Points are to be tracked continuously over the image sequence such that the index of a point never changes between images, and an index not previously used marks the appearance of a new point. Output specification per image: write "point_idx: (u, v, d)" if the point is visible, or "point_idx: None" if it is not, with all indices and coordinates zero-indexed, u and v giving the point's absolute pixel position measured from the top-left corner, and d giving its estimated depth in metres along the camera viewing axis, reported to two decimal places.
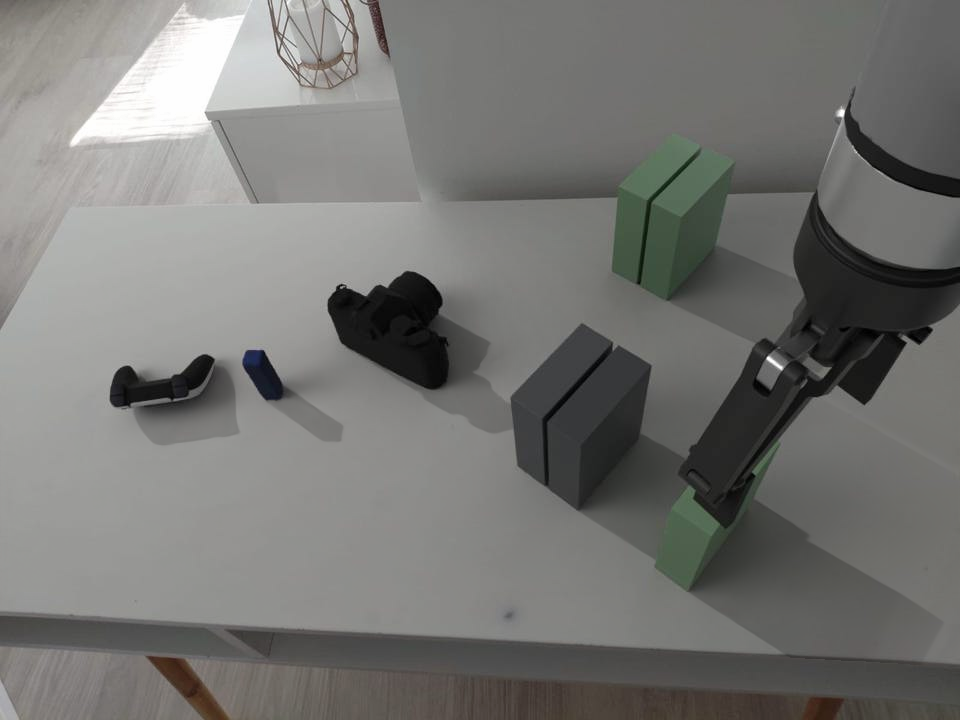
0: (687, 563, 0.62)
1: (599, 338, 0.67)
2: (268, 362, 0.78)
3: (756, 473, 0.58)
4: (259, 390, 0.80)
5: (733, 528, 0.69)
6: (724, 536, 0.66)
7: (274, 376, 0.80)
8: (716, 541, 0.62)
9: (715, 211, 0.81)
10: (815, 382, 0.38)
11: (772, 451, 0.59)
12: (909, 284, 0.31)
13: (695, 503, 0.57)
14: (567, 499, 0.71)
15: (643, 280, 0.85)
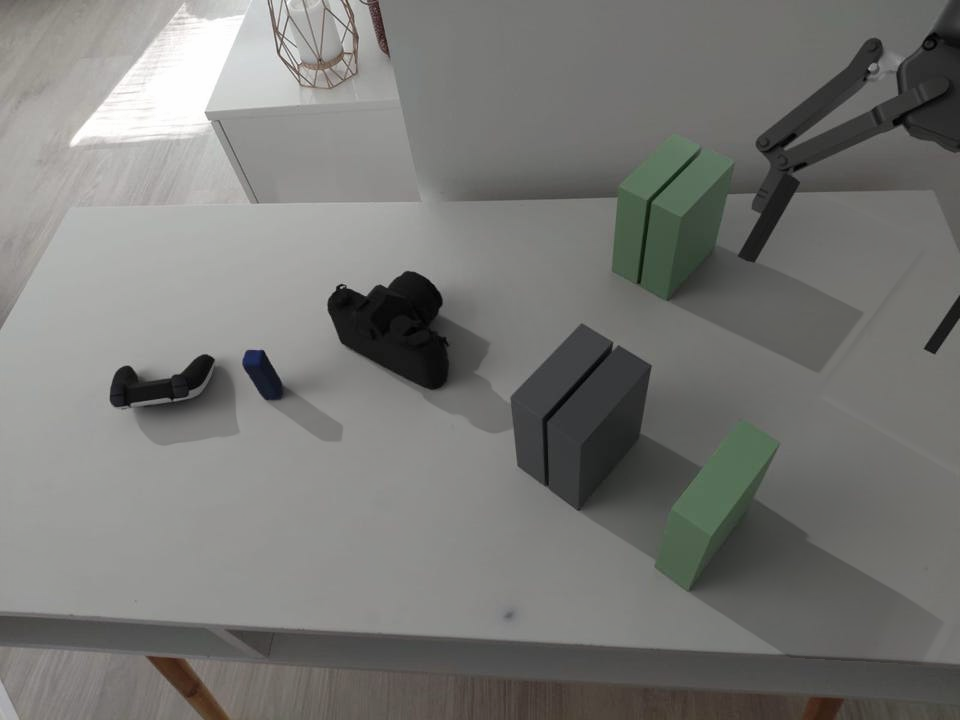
0: (687, 563, 0.62)
1: (599, 338, 0.67)
2: (268, 362, 0.78)
3: (756, 473, 0.58)
4: (259, 390, 0.80)
5: (733, 528, 0.69)
6: (724, 536, 0.66)
7: (274, 376, 0.80)
8: (716, 541, 0.62)
9: (715, 211, 0.81)
10: None
11: (772, 451, 0.59)
12: None
13: (695, 503, 0.57)
14: (567, 499, 0.71)
15: (643, 280, 0.85)
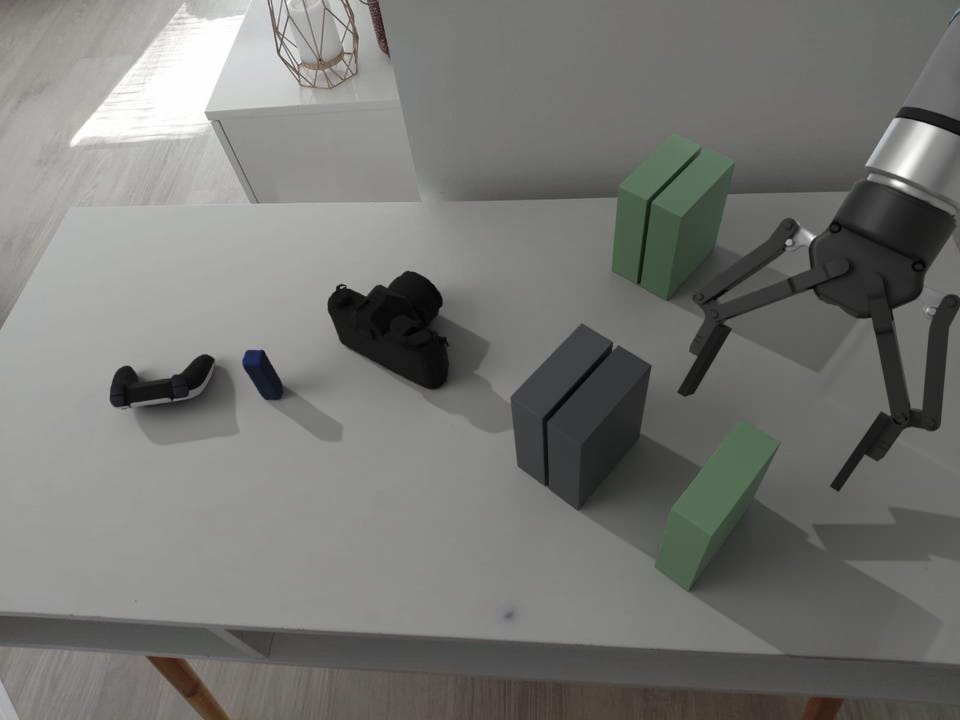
0: (687, 563, 0.62)
1: (599, 338, 0.67)
2: (268, 362, 0.78)
3: (756, 473, 0.58)
4: (259, 390, 0.80)
5: (733, 528, 0.69)
6: (724, 536, 0.66)
7: (274, 376, 0.80)
8: (716, 541, 0.62)
9: (715, 211, 0.81)
10: None
11: (772, 451, 0.59)
12: (866, 184, 0.54)
13: (695, 503, 0.57)
14: (567, 499, 0.71)
15: (643, 280, 0.85)
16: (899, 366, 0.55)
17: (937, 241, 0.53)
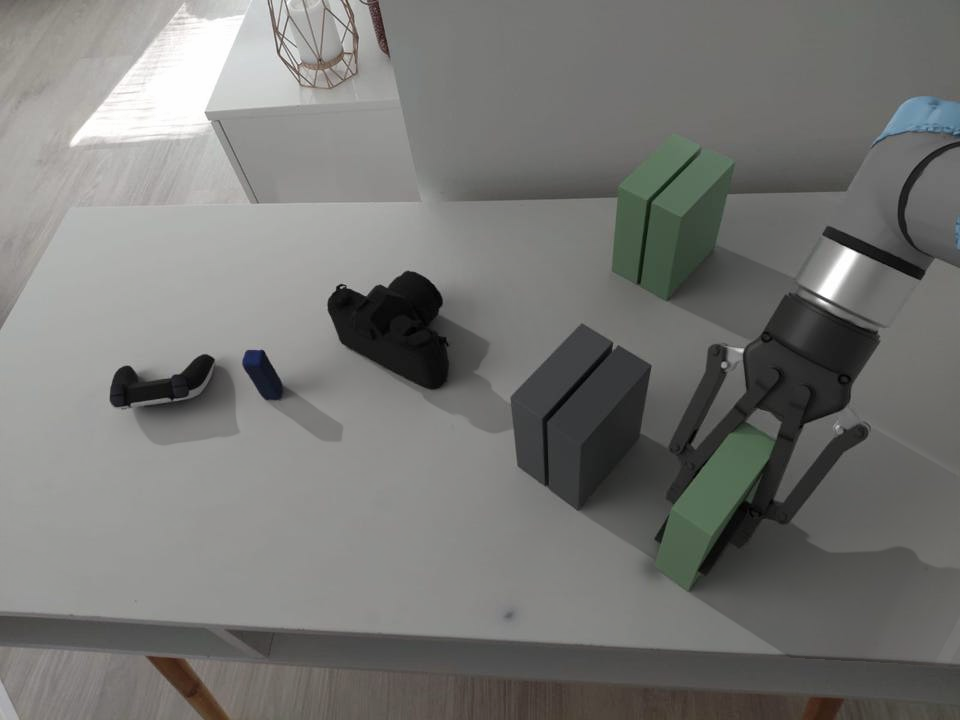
0: (687, 563, 0.62)
1: (599, 338, 0.67)
2: (268, 362, 0.78)
3: (756, 473, 0.58)
4: (259, 390, 0.80)
5: None
6: None
7: (274, 376, 0.80)
8: None
9: (715, 211, 0.81)
10: None
11: None
12: (793, 299, 0.56)
13: (695, 503, 0.57)
14: (567, 499, 0.71)
15: (643, 280, 0.85)
16: (780, 470, 0.58)
17: (860, 358, 0.55)
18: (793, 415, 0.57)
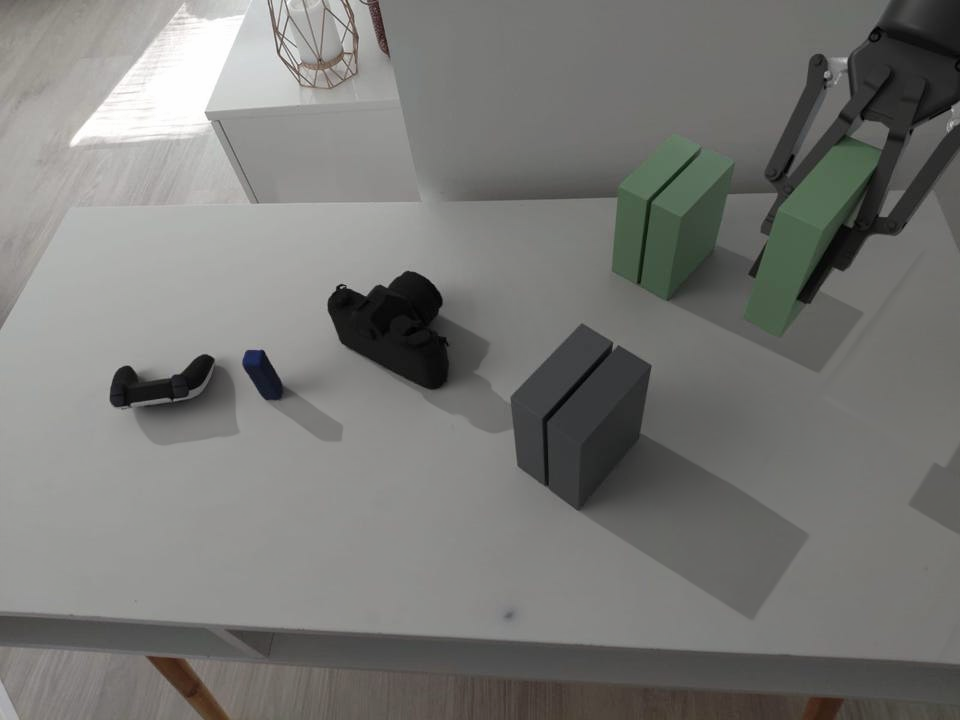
0: (786, 291, 0.59)
1: (599, 338, 0.67)
2: (268, 362, 0.78)
3: (865, 177, 0.55)
4: (259, 390, 0.80)
5: (823, 282, 0.66)
6: None
7: (274, 376, 0.80)
8: None
9: (715, 211, 0.81)
10: None
11: None
12: None
13: (803, 204, 0.54)
14: (567, 499, 0.71)
15: (643, 280, 0.85)
16: (889, 176, 0.56)
17: None
18: (905, 111, 0.55)
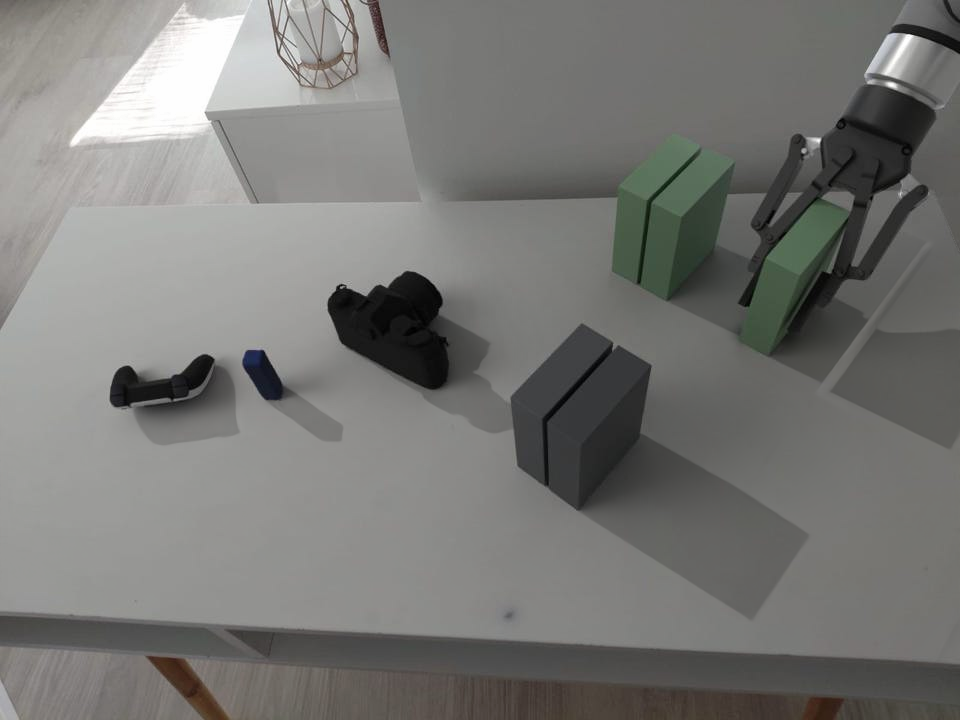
0: (772, 320, 0.75)
1: (599, 338, 0.67)
2: (268, 362, 0.78)
3: (833, 233, 0.71)
4: (259, 390, 0.80)
5: None
6: (799, 307, 0.79)
7: (274, 376, 0.80)
8: (797, 300, 0.75)
9: (715, 211, 0.81)
10: None
11: (845, 218, 0.72)
12: (865, 86, 0.69)
13: (785, 254, 0.70)
14: (567, 499, 0.71)
15: (643, 280, 0.85)
16: (857, 234, 0.71)
17: (921, 128, 0.68)
18: (865, 184, 0.70)
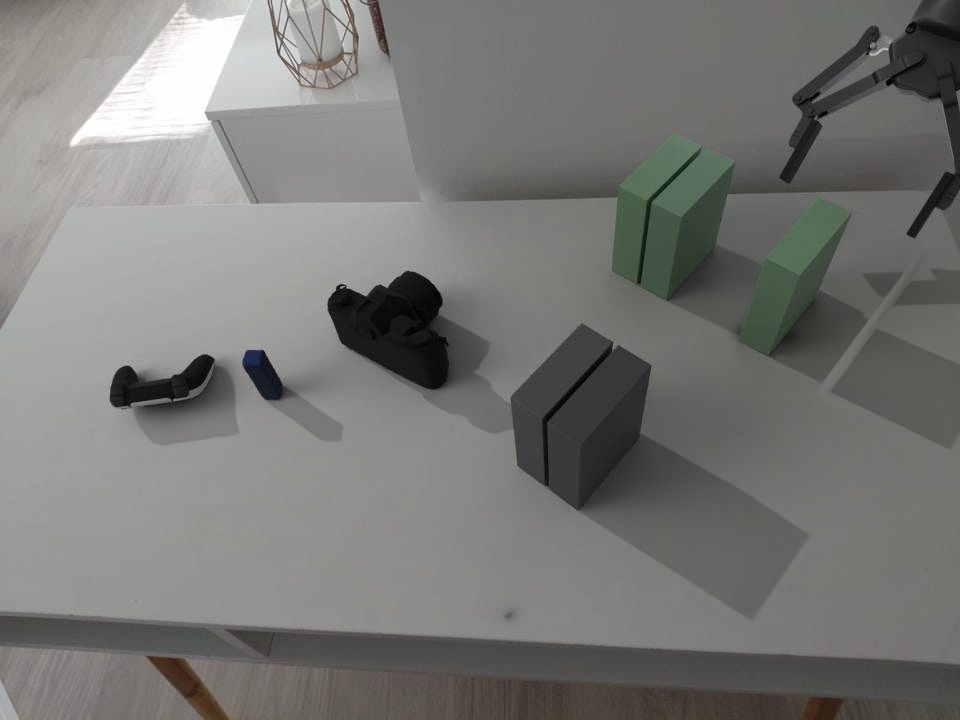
0: (772, 320, 0.75)
1: (599, 338, 0.67)
2: (268, 362, 0.78)
3: (833, 233, 0.71)
4: (259, 390, 0.80)
5: (804, 310, 0.82)
6: (799, 307, 0.79)
7: (274, 376, 0.80)
8: (797, 300, 0.75)
9: (715, 211, 0.81)
10: None
11: (845, 218, 0.72)
12: None
13: (785, 254, 0.70)
14: (567, 499, 0.71)
15: (643, 280, 0.85)
16: None
17: None
18: (946, 85, 0.71)
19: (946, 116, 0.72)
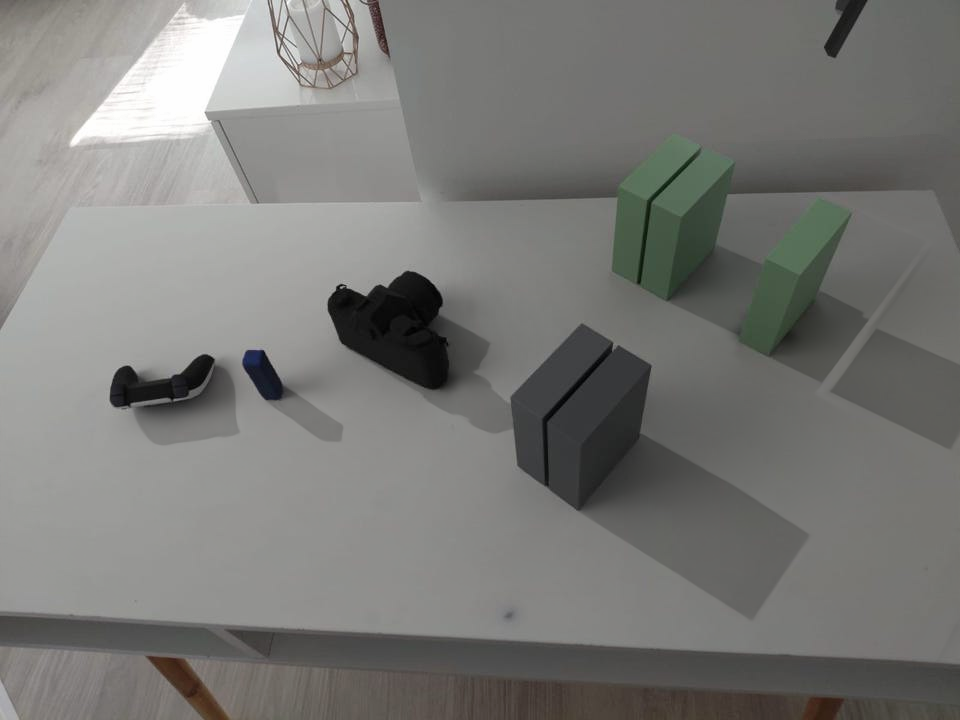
0: (772, 320, 0.75)
1: (599, 338, 0.67)
2: (268, 362, 0.78)
3: (833, 233, 0.71)
4: (259, 390, 0.80)
5: (804, 310, 0.82)
6: (799, 307, 0.79)
7: (274, 376, 0.80)
8: (797, 300, 0.75)
9: (715, 211, 0.81)
10: None
11: (846, 218, 0.72)
12: None
13: (785, 254, 0.70)
14: (567, 499, 0.71)
15: (643, 280, 0.85)
16: None
17: None
18: None
19: None
